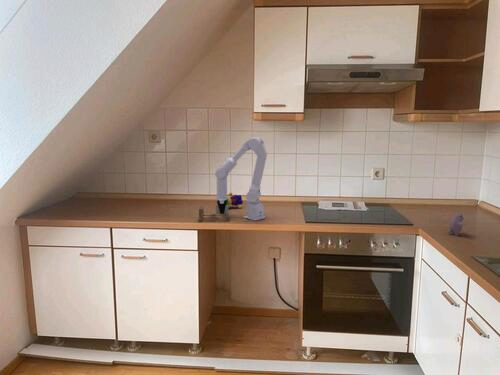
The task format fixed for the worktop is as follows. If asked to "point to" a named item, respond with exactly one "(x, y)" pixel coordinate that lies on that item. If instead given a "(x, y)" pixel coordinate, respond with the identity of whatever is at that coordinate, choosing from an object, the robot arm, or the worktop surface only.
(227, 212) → the grey rectangular block
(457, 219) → the figurine
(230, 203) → the toy
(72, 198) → the worktop surface
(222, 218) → the sill track
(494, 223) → the worktop surface
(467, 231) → the worktop surface
